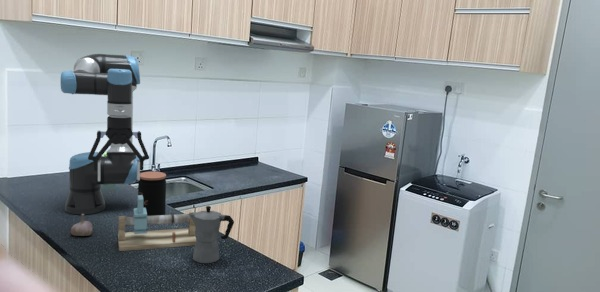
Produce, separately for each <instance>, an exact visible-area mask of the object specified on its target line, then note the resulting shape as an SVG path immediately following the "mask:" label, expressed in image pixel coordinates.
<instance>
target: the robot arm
mask: <svg viewBox="0 0 600 292" xmlns="http://www.w3.org/2000/svg"><path fill="white" fill-rule="evenodd" d="M138 61H139V60H138V59H137V58H136V57H135V56H130V55H126V54H123V55H122V54H120V55H119V54H105V53H93V54H89V55H86V56H82V57H80V58H78V59H77V60H76V62H75V63H74V65H73V70H63V71H61V72H60V90H61V92H62V93H63V94H70V95H95V96H107V101H106V102H107V103H106V105H107V111H106V114H107V118H106V120H107V121H106V126H107V127H106V131H105V130H103V131H102V130H97V132H96V138H95V140H94V143H93V146H92V147H91V149H90V151H88V152H80V153H78V154H74V155H72V156H71V157H70V159H69V163H68V164H69V165H68V166H69V167H68V170H69V191H68V196H67V198H66V200H65V205H64V211H65V212H66V213H69V214H72V215H81V214H84V215H92V214H97V213H100V212H102V211H105V209H106V202H105V198H104V196H103V195H104V194H103V193H102V189H101V186H102V185H130V184H135V183H136V181H139V180H140V173H141V171H143V170H144V162H145V161H147V160H149V159H150V156H149V154H148V151H147V149H146V146H145V145H144V144H145V143H144V142H143V140H142V132H141V131H140V130H138V131H133V125H134V124H133V122H134V121H133V115H134V114H133V110H134V105H133V104H134V102H133V101H134V100H133V99H134V91H136V90H137V88H138V87H137V86H138V85H140V84H141V76H140V67H139V62H138ZM105 136H106V138H108V140H107V141H106V142H105V144H104V145H103V146H102V148H101V149H100V150H99V151H96V150H97V149H98V146H99V144H100V142H101V139H103V138H104V137H105ZM133 136H134V139H137V141H138V144H139V147H140V148H141V151H142V153H143V155H141V153H140V151H139V150H138V149H137V148H136V147H135V145H134V144H133ZM105 152H106V155H104V154H105ZM103 155H104V156H103Z"/></svg>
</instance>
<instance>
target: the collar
mask: <svg viewBox="0 0 600 292" xmlns="http://www.w3.org/2000/svg"><path fill="white" fill-rule="evenodd" d="M133 217H134V225H133V232H134V234H145V233H147V231H148V225H147V211H146V208H143V195H138V194H137V207H134V208H133Z"/></svg>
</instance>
